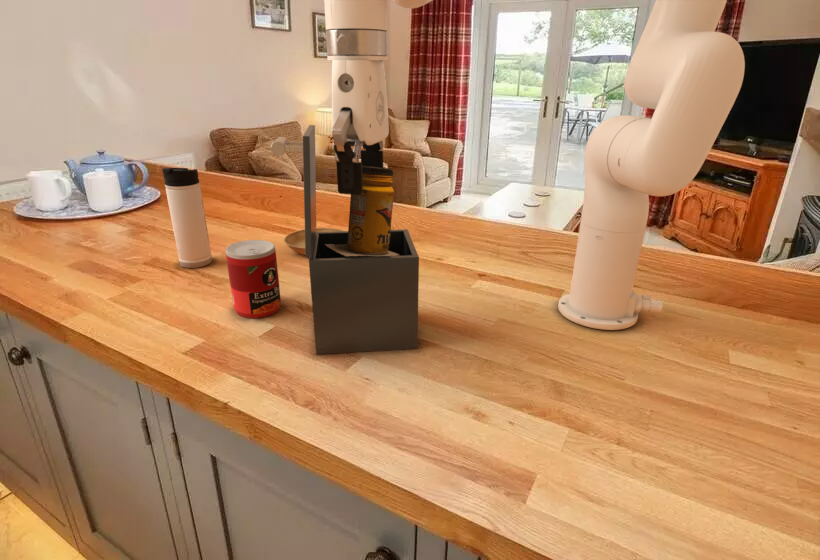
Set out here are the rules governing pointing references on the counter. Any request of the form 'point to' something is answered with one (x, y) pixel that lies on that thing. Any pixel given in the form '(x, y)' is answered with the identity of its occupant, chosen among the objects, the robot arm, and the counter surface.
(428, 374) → the counter surface
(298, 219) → the counter surface
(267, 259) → the canned food
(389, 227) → the condiment
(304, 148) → the lid
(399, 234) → the bin
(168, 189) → the travel mug
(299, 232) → the plant saucer
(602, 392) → the counter surface
